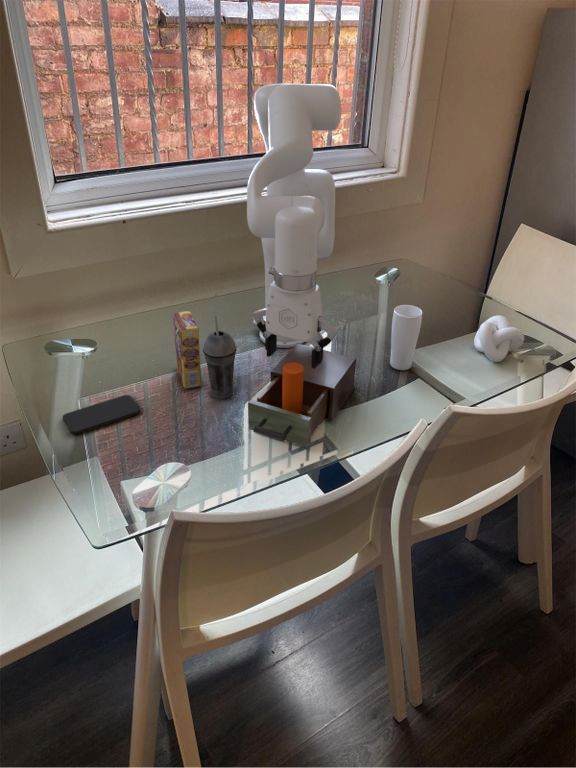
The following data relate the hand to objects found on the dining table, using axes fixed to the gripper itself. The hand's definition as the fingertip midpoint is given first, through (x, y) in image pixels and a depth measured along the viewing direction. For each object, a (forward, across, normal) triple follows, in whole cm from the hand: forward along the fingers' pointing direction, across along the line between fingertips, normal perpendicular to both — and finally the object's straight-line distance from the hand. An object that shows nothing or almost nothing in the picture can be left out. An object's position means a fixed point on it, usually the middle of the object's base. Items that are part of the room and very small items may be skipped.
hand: (293, 359), depth 119 cm
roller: (+14, 0, 0) cm, 14 cm away
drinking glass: (+16, +14, +34) cm, 40 cm away
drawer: (+15, 0, -2) cm, 15 cm away
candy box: (+16, -29, +6) cm, 34 cm away
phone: (+16, -38, -15) cm, 44 cm away
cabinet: (+16, 0, +12) cm, 20 cm away
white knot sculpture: (+16, +33, +51) cm, 62 cm away
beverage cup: (+16, -19, +4) cm, 25 cm away
